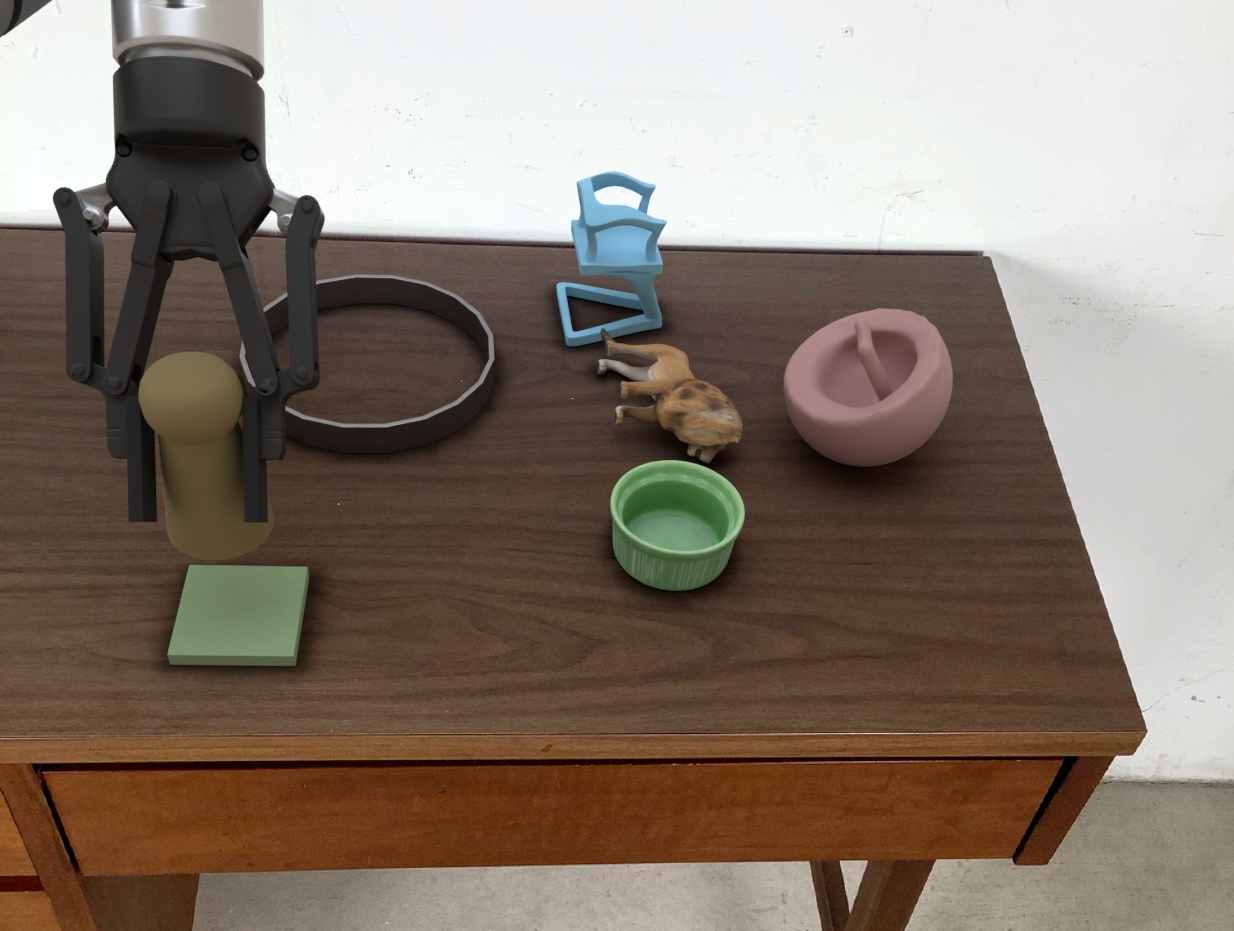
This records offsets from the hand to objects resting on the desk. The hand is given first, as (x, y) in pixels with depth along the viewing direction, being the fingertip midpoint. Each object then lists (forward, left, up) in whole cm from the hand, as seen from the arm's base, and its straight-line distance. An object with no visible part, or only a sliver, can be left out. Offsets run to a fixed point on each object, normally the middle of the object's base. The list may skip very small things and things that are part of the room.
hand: (199, 521), depth 65 cm
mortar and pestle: (+35, +32, -13) cm, 49 cm away
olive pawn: (-1, +4, -4) cm, 5 cm away
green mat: (-1, +3, -12) cm, 13 cm away
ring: (-2, +29, -12) cm, 32 cm away
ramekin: (+24, +17, -13) cm, 32 cm away
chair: (+14, +42, -13) cm, 46 cm away
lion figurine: (+16, +30, -10) cm, 36 cm away
